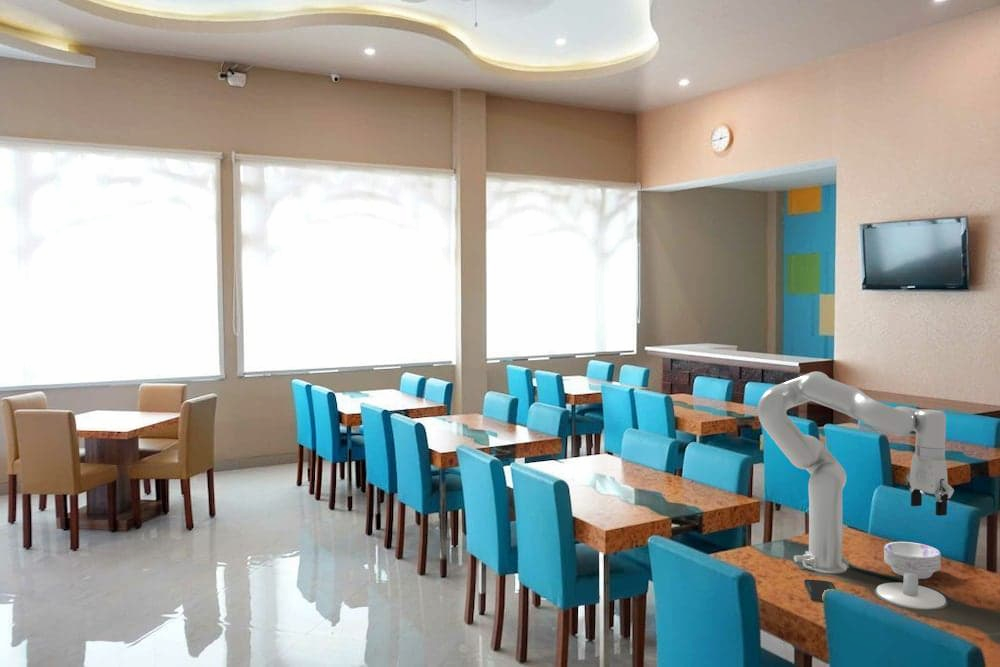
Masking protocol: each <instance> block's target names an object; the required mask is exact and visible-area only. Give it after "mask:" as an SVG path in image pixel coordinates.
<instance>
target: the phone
mask: <svg viewBox="0 0 1000 667" xmlns="http://www.w3.org/2000/svg"><path fill="white" fill-rule="evenodd" d="M803 584H804V586H805V589H806V592H807V595H808V598H809V600H810V601H811V600H812V601H811V602H815V601H819V602H818V603H823V602H822V594H823V592H824V590H827V589H836V588H835V585H834V582H832V581H830V580H819V579H818V580H817V579H816V580H815V579H808V578H807V579H804V583H803Z"/></svg>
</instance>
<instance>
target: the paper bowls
mask: <svg viewBox="0 0 1000 667" xmlns="http://www.w3.org/2000/svg"><path fill="white" fill-rule="evenodd" d="M883 554H884V555H883V556H884V558H883V559H884V560H883V561H884V563H885V564H886V565H888V566H890V568H891V570H892V571H893V572H894V573H895V574H897V575H899V576H901V577H904V573H906V572H910V573H915V574H917V575H918V580H921V579H922V580H923V579H924V580H925V579H929V578H931V577H932V576H933V574H934V573H936V572H938V571H940V569H941V567H942V566H941V565H942V560H941V558H942V553H941V552H940V550H939V549H937V548H935V547H933V546H930V545H927V544H923V543H920V542H919V543H917V542H912V541H911V542H910V541H894V542H893V541H891V542H889V543H885V545H884V546H883Z"/></svg>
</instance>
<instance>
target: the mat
mask: <svg viewBox="0 0 1000 667" xmlns="http://www.w3.org/2000/svg"><path fill="white" fill-rule="evenodd" d="M874 594H875V596H876V597H878V598H879V599H880V600H882V601H883V602H886V603H888V604H891V605H894V606H896V607H901V608H905V609H910V610H916V611H917V610H918V611H937V610H942V609H945V608H946V607H947V606H948V600H947V599H946V603H945V605H944V606H943V607H941V608H937V609H915V608H909V607H904V606H900V605H896V604H893V603H891V602H888V601H886V600H884V599H882V598H881V597H880V596H878V594H877V587H876V588H875V589H874Z"/></svg>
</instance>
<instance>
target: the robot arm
mask: <svg viewBox="0 0 1000 667" xmlns="http://www.w3.org/2000/svg"><path fill="white" fill-rule="evenodd" d="M808 402H813V403H816V404H819V405H821V406H824V407H827V408H829V409H832V410H834V411H837V412H839V413H842V414H845V415H847V416H848V417H851V418H853V419H855V420H857V421H860V422H861V423H863V424H865V425H868V426H870V427H872V428H874V429H878V430H879V431H883V432H885V433H888V434H890V435H893V436H899V437H901V436H902V437H903V436H906V435H908V434H910V433H911V432H915V446H914V449H915V450H914V452H915V453H914V454H913V456H912V458H911V459H912V460H911V464H910V470H909V471H910V472H909V473H908V474H906V475H905V477H906V482H907V486H908V488H909V492H910V506H911V507H920V506H922V502H923V501H922V500H923V498H922V496H923V493H926V494H929V495H934V497H935V498H936V501H935V515H936V516H937V517H939V516H947V514H948V503H949V501H950V500H951V499H952V496H953V494H954V493H955V490H954V488H953V487H952V486H951V485H950V484H949V483H948V467H947V460H946V435H947V434H946V431H947V430H946V429H947V428H946V427H947V415H946V413H945V412H944V411H942V410H938V409H932V408H931V409H929V408H928V409H926V408H925V409H922V408H921V409H919V408H915V407H914V408H913V407H910V406H909V407H908V406H903V405H901V406H896V407H892V406H890V405H887V404H884V403H882V402H880V401H878V400H875V399H873V398H871V397H870V396H868V395H867V394H866V393H864V392H863V390H861V389H859V388H857V387H854V386H852V385H848V384H846V383H843V382H841V381H838V380H836V379H835V380H834V379H833V378H830V377H829V376H828V375H827V374H826V373H824V372H822V371H817V370H816V371H811V372H808V373H806V374H804V375H801V376H799V377H796V378H794V379H790V380H787V381H785V382H781V383H779V384H776V385H774V386H771V387H769V388H768V389H767V390H765V392H764V393H763V394H762V396H761V397H760V399H759V401H758V405H757V418H758V420H759V423H760V424H761V426H762V428H763V429H764V431H765V432H766V433H767V434H768V436H770V438H771V439H772V441H774V443H775V444H776V446H777V447H778V448H779V449H780V450H781V451H782V453H783V454H784V455H785V457H786V458H787V460H789V461H790V462H789V463H790V464H792V465H793V466H795V468H798V469H800V470H806V471H807V472H808V473H809V474H810V476H809V479H808V483H807V484H808V486H807V489H808V506H809V508H808V512H809V513H808V517H809V518H808V550H805V553H804V554H802V555H799V554H797V555H794V556H793V561H794V562H795V563H798V562H800V563H801V562H802V564H803V567H804V568H805V569H807V570H809V571H813V572H816V573H817V572H818V573H823V574H843V573H845V572H847V570H848V565H847V564H845V563H844V562H843V561H842V560H843V555H842V554H843V552H842V551H843V489H844V487H845V485H846V483H847V472H846V470H845V468H843V466H842V465H841V463H840V462H839V461H838V460H837V459H836V457H835V456H834V455H833V454H832V453H831V452H830V450H828V448H827V447H826V446H825V444H824V443H823V442H821V441H820V439H818V438H817V437H816V436H813V435H809V434H804V433H803V431H802V430H800V428H799V427H798V425H797V424H795V422H794V421H793V420H792V419H791V418H789V416H788V414H787V411H788V410H789V409H792V408H795V407H797V406H800V405H802V404H805V403H808ZM922 492H923V493H922Z"/></svg>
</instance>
